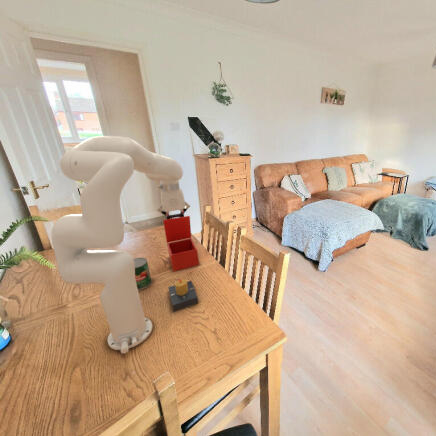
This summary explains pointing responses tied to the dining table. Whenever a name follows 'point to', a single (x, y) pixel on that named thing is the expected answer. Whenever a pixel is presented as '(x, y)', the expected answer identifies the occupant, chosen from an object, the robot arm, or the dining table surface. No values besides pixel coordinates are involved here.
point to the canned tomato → (142, 273)
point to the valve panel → (183, 297)
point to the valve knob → (181, 287)
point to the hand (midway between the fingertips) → (176, 221)
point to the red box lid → (177, 228)
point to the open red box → (182, 254)
